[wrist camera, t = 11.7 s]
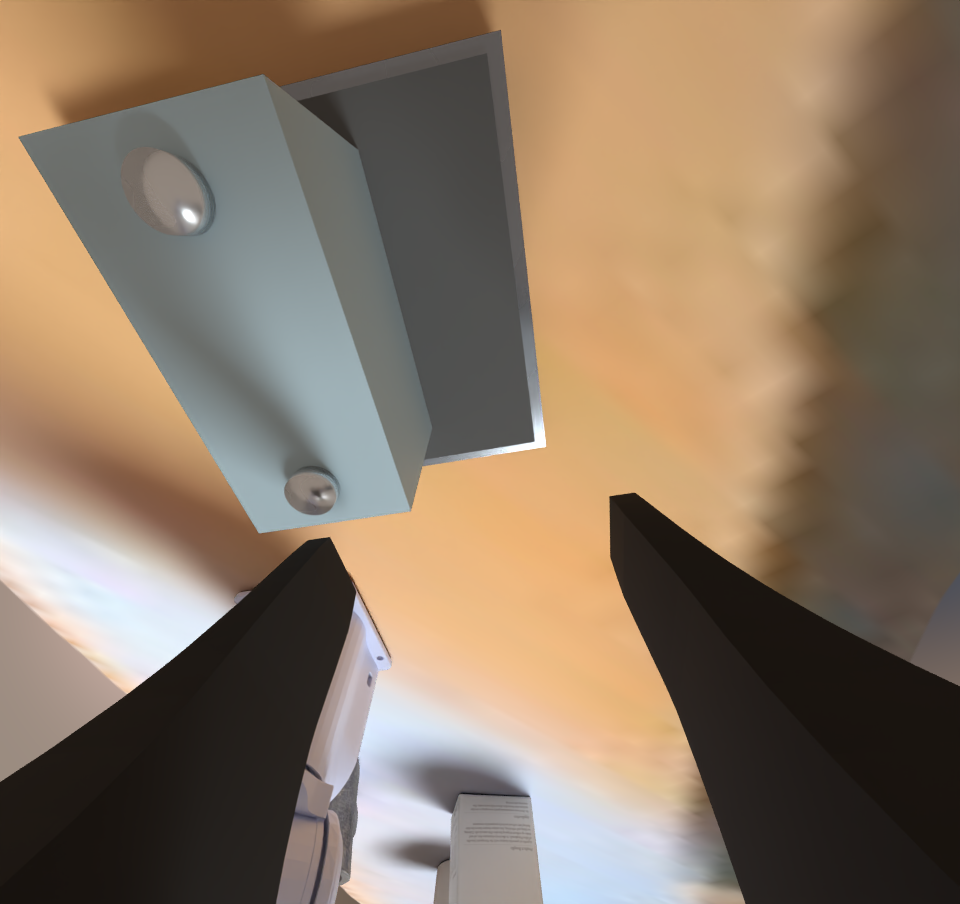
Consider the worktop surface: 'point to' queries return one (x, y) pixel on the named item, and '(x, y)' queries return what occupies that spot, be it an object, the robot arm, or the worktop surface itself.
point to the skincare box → (493, 851)
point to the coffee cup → (442, 883)
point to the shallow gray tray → (448, 233)
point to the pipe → (347, 819)
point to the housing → (254, 292)
